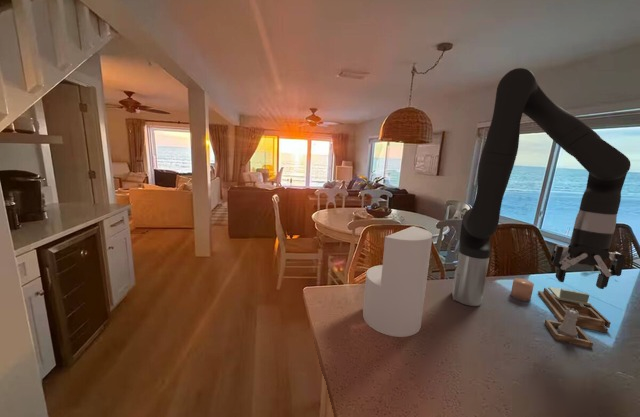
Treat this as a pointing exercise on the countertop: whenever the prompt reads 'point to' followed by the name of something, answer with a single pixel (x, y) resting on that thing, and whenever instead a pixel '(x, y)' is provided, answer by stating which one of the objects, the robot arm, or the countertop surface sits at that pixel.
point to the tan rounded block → (522, 289)
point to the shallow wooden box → (587, 312)
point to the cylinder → (398, 284)
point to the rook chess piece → (569, 323)
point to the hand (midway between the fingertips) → (579, 284)
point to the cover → (570, 295)
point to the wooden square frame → (583, 341)
